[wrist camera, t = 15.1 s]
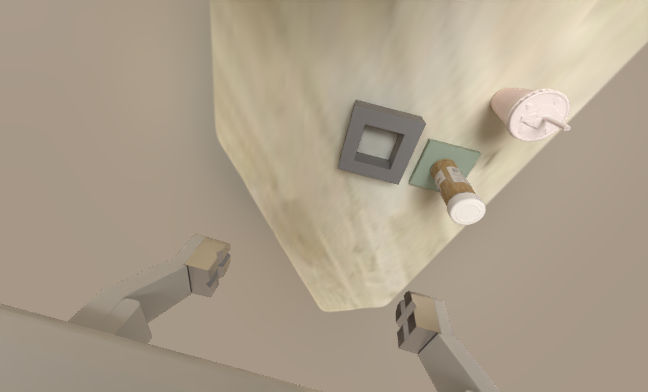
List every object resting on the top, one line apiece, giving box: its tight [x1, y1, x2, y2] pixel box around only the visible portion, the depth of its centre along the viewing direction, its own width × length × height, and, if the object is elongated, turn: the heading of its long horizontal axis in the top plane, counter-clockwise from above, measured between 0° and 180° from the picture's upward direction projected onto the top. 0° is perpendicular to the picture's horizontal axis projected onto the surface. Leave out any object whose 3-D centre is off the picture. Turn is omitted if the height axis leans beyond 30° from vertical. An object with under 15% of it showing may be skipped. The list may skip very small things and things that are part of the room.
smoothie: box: [491, 88, 571, 142], centre depth 33 cm, size 6×6×14 cm
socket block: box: [338, 100, 426, 185], centre depth 44 cm, size 11×11×4 cm
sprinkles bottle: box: [431, 159, 485, 225], centre depth 40 cm, size 5×5×13 cm
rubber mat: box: [409, 139, 481, 191], centre depth 46 cm, size 9×9×1 cm
